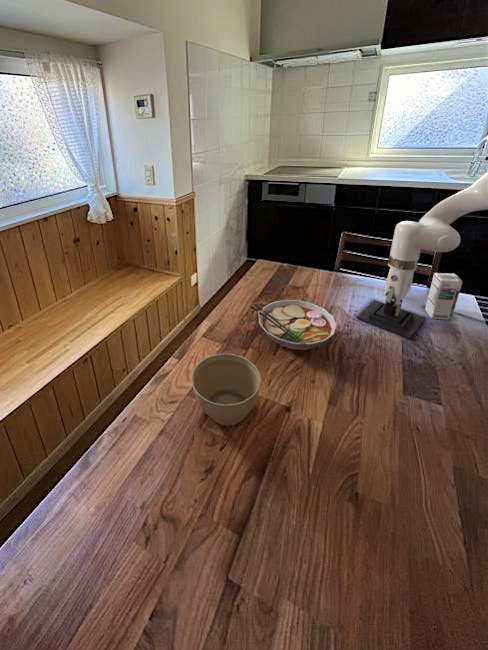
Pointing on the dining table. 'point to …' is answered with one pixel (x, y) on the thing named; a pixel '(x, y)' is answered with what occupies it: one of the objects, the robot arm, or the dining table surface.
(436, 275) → the syrup box
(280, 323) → the ramen bowl
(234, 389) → the planter bowl
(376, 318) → the base pad
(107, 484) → the dining table surface
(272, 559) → the dining table surface
